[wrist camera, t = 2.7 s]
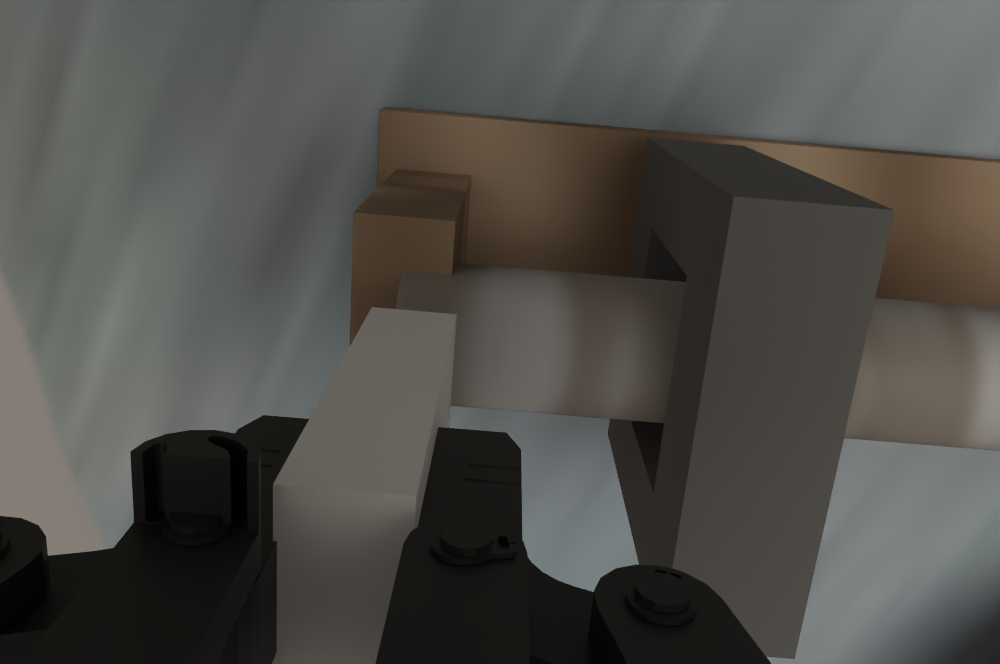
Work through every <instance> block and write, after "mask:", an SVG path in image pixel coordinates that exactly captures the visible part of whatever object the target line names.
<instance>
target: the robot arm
mask: <svg viewBox="0 0 1000 664" xmlns="http://www.w3.org/2000/svg"><path fill="white" fill-rule="evenodd" d="M456 318H457V314H448V313H436V312H424V311H412V310H400V309H388V308H376V307H372V308H371V310H370V311H369V313H368V315H367V317H366V318H365V320H364V322H363V324H362V326H361V327H360V329H359V331H358V333H357V335H356V336H355V338H354V340H353V342H352V344H351V345H350V347H349V349H348V351H347V353H346V354H345V356H344V358H343V360H342V362H341V363H340V365H339V367H338V369H337V370H336V372H335V374H334V376H333V378H332V379H331V381H330V383H329V385H328V387H327V388H326V390H325V392H324V394H323V396H322V397H321V399H320V401H319V403H318V405H317V406H316V408H315V410H314V412H313V414H312V415H311V417H310V419H302V418H290V417H278V416H266V415H263V416H262V417H260V418H258V419H256V420H254V421H252V422H251V423H249V424H247V425H245V426H243V427H241V428H239V429H238V430H237V432H236V433H235V434H234V433H229V432H223V431H217V430H189V431H183V432H177V433H170V434H165V435H163V436H160V437H157V438H154V439H151V440H148V441H145V442H144V443H142V444H141V445H139V446H138V447H137V448H135V449H134V450H132V451H131V470H132V489H133V508H134V523H133V524H132V526H131V527H130V528H129V529H128V531H127V532H126V533H125V534H124V536H123V537H122V538H121V539H120V541H119V542H118V543H117V544H116V546H115V547H114V548H111V549H105V550H99V551H91V552H81V553H72V554H62V555H52V556H48V555H47V543H46V536H45V534H44V533H43V531H42V530H41V529H40V527H39V526H38V525H36V524H34V523H31V522H29V521H27V520H24V519H22V518H14V517H4V516H0V664H272V662H273V664H771V663H770V661H769V660H768V659H767V657H766V656H765V655H764V653H763V652H762V651H761V649H760V648H759V647H758V645H757V644H756V643H755V641H754V640H753V639H752V637H751V636H750V635H749V633H748V632H747V631H746V629H745V628H744V627H743V625H742V624H741V623H740V621H739V620H738V619H737V618H736V616H735V615H734V614H733V612H732V611H731V610H730V608H729V607H728V606H727V604H726V603H725V602H724V600H723V599H722V598H721V597H720V596H719V595H718V594H717V593H716V592H715V591H714V590H713V589H711V588H710V587H709V586H708V585H707V584H706V583H704V582H702V581H700V580H698V579H696V578H694V577H692V576H690V575H689V574H687V573H684V572H682V571H679V570H676V569H673V568H672V569H670V568H669V567H664V566H658V565H654V566H652V565H632V566H627V567H622V568H616V569H614V570H613V571H611V572H609V573H608V574H606V575H604V576H603V577H601V578H600V580H599V582H598V584H597V586H596V588H595V590H594V592H591V591H588V590H584V589H581V588H577V587H574V586H571V585H569V584H566V583H563V582H560V581H558V580H556V579H554V578H552V577H550V576H549V575H547V574H545V573H543V572H542V571H541V570H540V569H538V568H537V567H536V566H535V565H534V564H533V563H531V561H530V560H529V558H528V557H527V551H526V548H525V545H524V543H523V540H522V490H521V449H520V448H519V447H518V446H517V444H516V443H515V442H514V441H513V440H512V439H511V437H510V436H509V435H508V434H507V433H503V432H491V431H479V430H467V429H455V428H449V418H450V404H451V389H452V375H453V361H454V347H455V332H456Z"/></svg>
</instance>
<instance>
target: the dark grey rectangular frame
mask: <svg viewBox="0 0 1000 664" xmlns="http://www.w3.org/2000/svg"><path fill="white" fill-rule="evenodd" d="M894 212H895V210H893V209H891V208H889V207H886V206H884V205H882V204H879V203H877V202H875V201H872V200H870V199H868V198H865V197H863V196H860V195H858V194H856V193H853V192H851V191H849V190H846V189H844V188H842V187H839V186H837V185H835V184H832V183H830V182H828V181H825V180H823V179H821V178H818V177H816V176H814V175H811V174H809V173H807V172H804V171H802V170H800V169H797V168H795V167H793V166H790V165H788V164H786V163H783V162H781V161H779V160H776V159H774V158H771V157H769V156H767V155H764V154H762V153H760V152H757V151H755V150H753V149H750V148H748V147H746V146H741V145H729V144H718V143H706V142H694V141H683V140H671V139H659V138H647V141H646V149H645V157H644V164H643V172H642V179H641V187H640V195H639V202H638V210H637V217H636V225H635V233H634V240H633V248H632V255H631V263H630V271H629V277H632V278H644V279H656V280H668V281H680V282H686V285H685V291H684V298H683V305H682V311H681V318H680V324H679V331H678V337H677V344H676V350H675V357H674V363H673V370H672V377H671V383H670V390H669V396H668V403H667V409H666V416H665V422H664V423H656V422H644V421H632V420H620V419H610V423H609V430H608V436H609V440H610V444H611V448H612V452H613V457H614V461H615V465H616V469H617V473H618V478H619V482H620V486H621V490H622V494H623V499H624V503H625V507H626V511H627V515H628V519H629V524H630V528H631V532H632V536H633V540H634V545H635V549H636V553H637V557H638V561H639V565H652V566H654V565H658V566H664V567H669V568H670V569H672V568H673V569H676V570H679V571H682V572H684V573H687V574H689V575H690V576H692V577H694V578H696V579H698V580H700V581H702V582H704V583H706V584H707V585H708V586H709V587H710V588H711V589H713V590H714V591H715V592H716V593H717V594H718V595H719V596H720V597H721V598H722V599H723V600H724V602H725V603H726V604H727V606H728V607H729V608H730V610H731V611H732V612H733V614H734V615H735V616H736V618H737V619H738V620H739V621H740V623H741V624H742V625H743V627H744V628H745V629H746V631H747V632H748V633H749V635H750V636H751V637H752V639H753V640H754V641H755V643H756V644H757V645H758V647H759V648H760V649H761V651H762V652H763V653H764V655H765V656H766V657H777V658H790V659H794V658H795V654H796V650H797V645H798V641H799V636H800V632H801V627H802V623H803V618H804V614H805V609H806V605H807V600H808V596H809V591H810V587H811V583H812V578H813V574H814V569H815V565H816V560H817V556H818V551H819V547H820V542H821V538H822V533H823V529H824V524H825V520H826V515H827V511H828V507H829V502H830V498H831V493H832V489H833V484H834V480H835V475H836V471H837V466H838V462H839V457H840V453H841V448H842V444H843V440H844V435H845V431H846V426H847V422H848V417H849V413H850V408H851V404H852V399H853V395H854V390H855V386H856V381H857V377H858V372H859V368H860V364H861V359H862V355H863V350H864V346H865V341H866V337H867V332H868V328H869V323H870V319H871V314H872V310H873V305H874V301H875V296H876V292H877V288H878V283H879V279H880V274H881V270H882V265H883V261H884V256H885V252H886V247H887V243H888V238H889V234H890V229H891V225H892V221H893V216H894Z"/></svg>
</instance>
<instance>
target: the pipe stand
mask: <svg viewBox="0 0 1000 664" xmlns="http://www.w3.org/2000/svg"><path fill="white" fill-rule="evenodd" d="M647 138H659V139H671V140H683V141H694V142H706V143H718V144H729V145H741V146H746V147H748V148H750V149H753V150H755V151H757V152H760V153H762V154H764V155H767V156H769V157H771V158H774V159H776V160H779V161H781V162H783V163H786V164H788V165H790V166H793V167H795V168H797V169H800V170H802V171H804V172H807V173H809V174H811V175H814V176H816V177H818V178H821V179H823V180H825V181H828V182H830V183H832V184H835V185H837V186H839V187H842V188H844V189H846V190H849V191H851V192H853V193H856V194H858V195H860V196H863V197H865V198H868V199H870V200H872V201H875V202H877V203H879V204H882V205H884V206H886V207H889V208H891V209H893V210H895V212H894V216H893V221H892V225H891V229H890V234H889V238H888V243H887V247H886V252H885V256H884V261H883V265H882V270H881V274H880V279H879V283H878V288H877V292H876V296H875V301H874V305H873V310H872V314H871V319H870V323H869V328H868V332H867V337H866V341H865V346H864V350H863V355H862V359H861V364H860V368H859V372H858V377H857V381H856V386H855V390H854V395H853V399H852V404H851V408H850V413H849V417H848V422H847V426H846V431H845V435H844V438H850V439H862V440H874V441H887V442H899V443H911V444H923V445H935V446H947V447H959V448H971V449H983V450H996V451H1000V160H996V159H984V158H972V157H960V156H949V155H937V154H925V153H914V152H902V151H890V150H879V149H867V148H855V147H843V146H832V145H820V144H808V143H797V142H785V141H773V140H762V139H750V138H738V137H726V136H715V135H703V134H691V133H680V132H668V131H656V130H645V129H633V128H621V127H609V126H598V125H586V124H574V123H563V122H551V121H539V120H528V119H516V118H504V117H492V116H481V115H469V114H457V113H446V112H434V111H422V110H411V109H399V108H387V107H385V108H383V109H381V110H380V132H379V158H378V184H377V190H376V191H375V192H374V193H373V194H372V195H371V196H370V197H369V198H368V199H367V200H366V201H365V202H364V203H363V204H362V205H361V206H360V207H359V208H358V209H357V210H356V211H355V212H354V223H353V256H352V289H351V322H350V345H351V344H352V342H353V340H354V338H355V336H356V335H357V333H358V331H359V329H360V327H361V326H362V324H363V322H364V320H365V318H366V317H367V315H368V313H369V311H370V310H371V308H372V307H376V308H388V309H400V310H412V311H424V312H436V313H448V314H457V318H456V332H455V347H454V361H453V375H452V389H451V404H450V406H462V407H475V408H487V409H499V410H511V411H523V412H535V413H547V414H559V415H572V416H584V417H596V418H608V419H620V420H632V421H644V422H656V423H664V422H665V416H666V409H667V403H668V396H669V390H670V383H671V377H672V370H673V363H674V357H675V350H676V344H677V337H678V331H679V324H680V318H681V311H682V305H683V298H684V291H685V285H686V282H680V281H668V280H656V279H644V278H632V277H629V271H630V263H631V255H632V248H633V240H634V233H635V225H636V217H637V210H638V202H639V195H640V187H641V179H642V172H643V164H644V157H645V149H646V141H647Z"/></svg>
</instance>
